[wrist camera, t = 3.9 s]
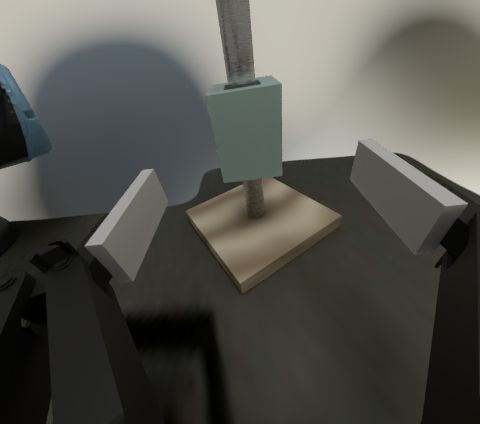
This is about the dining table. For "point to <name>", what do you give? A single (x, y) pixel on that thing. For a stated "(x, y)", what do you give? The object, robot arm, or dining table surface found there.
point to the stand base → (261, 230)
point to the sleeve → (247, 129)
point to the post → (240, 76)
